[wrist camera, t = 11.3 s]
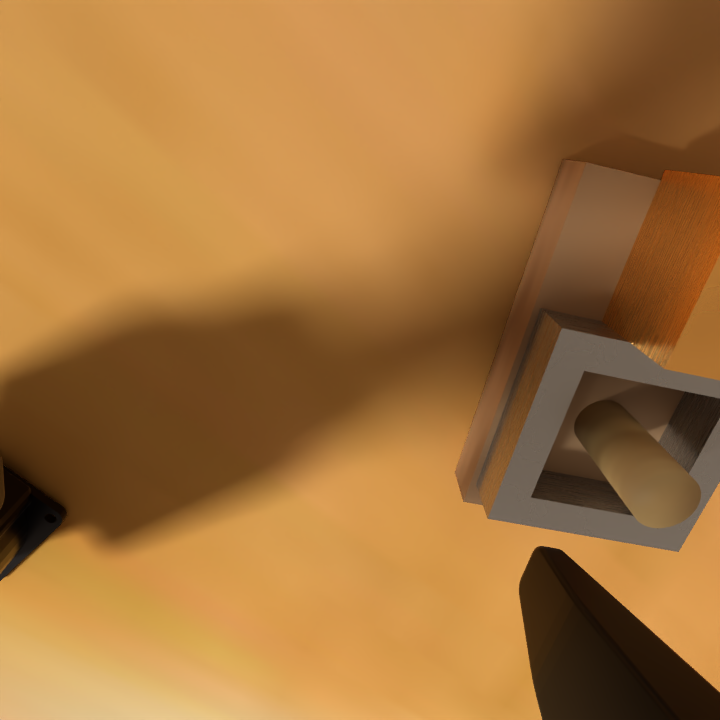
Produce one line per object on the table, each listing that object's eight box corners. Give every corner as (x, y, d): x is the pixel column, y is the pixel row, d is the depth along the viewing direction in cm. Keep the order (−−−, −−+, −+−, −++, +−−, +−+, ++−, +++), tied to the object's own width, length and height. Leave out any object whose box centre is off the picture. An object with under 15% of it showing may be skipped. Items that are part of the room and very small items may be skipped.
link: (650, 515, 21) (711, 595, 18) (476, 484, 21) (501, 560, 17) (817, 206, 17) (948, 227, 13) (597, 153, 16) (669, 159, 12)
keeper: (626, 503, 24) (718, 628, 18) (455, 472, 23) (489, 591, 17) (776, 210, 19) (975, 247, 13) (562, 159, 18) (665, 171, 12)
